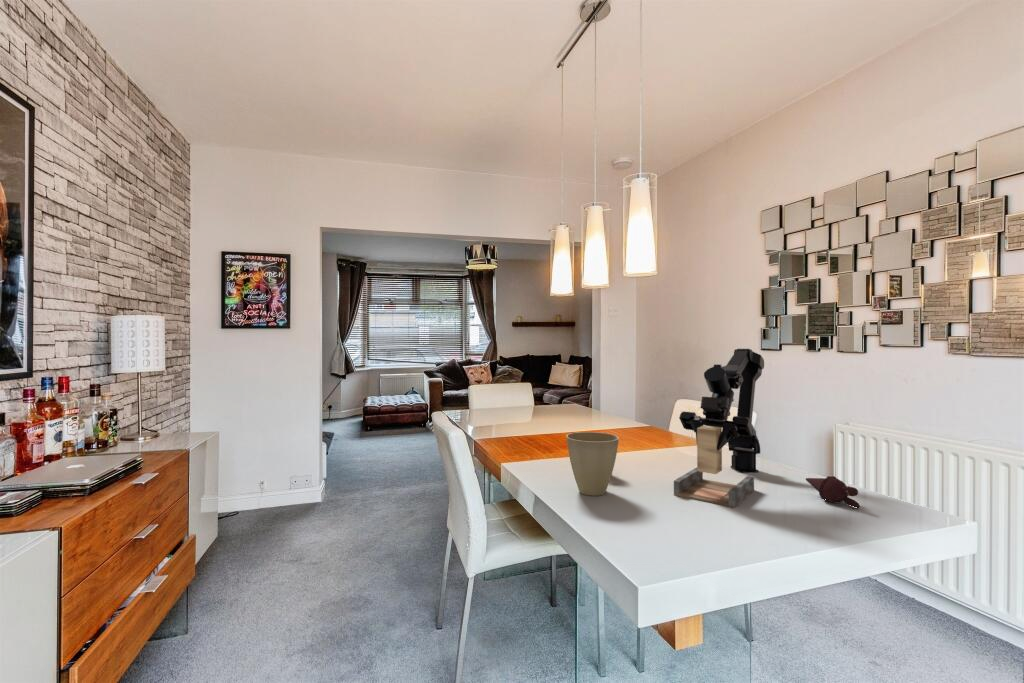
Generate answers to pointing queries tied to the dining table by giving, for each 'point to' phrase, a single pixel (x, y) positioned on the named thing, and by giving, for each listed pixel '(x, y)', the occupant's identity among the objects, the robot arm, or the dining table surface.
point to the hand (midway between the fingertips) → (707, 448)
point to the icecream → (834, 490)
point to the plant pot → (592, 460)
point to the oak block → (709, 449)
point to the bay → (712, 489)
